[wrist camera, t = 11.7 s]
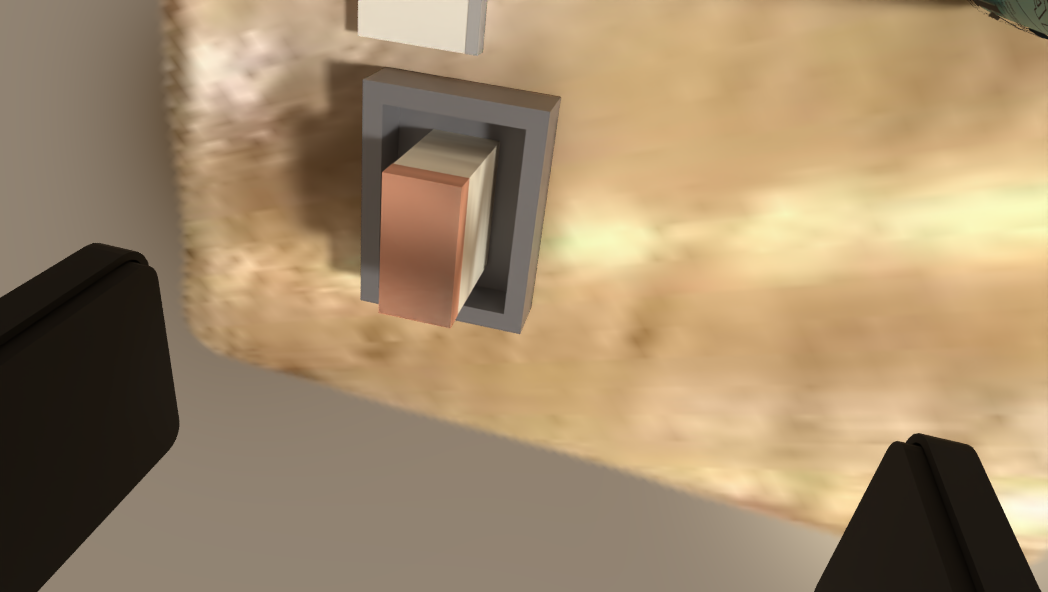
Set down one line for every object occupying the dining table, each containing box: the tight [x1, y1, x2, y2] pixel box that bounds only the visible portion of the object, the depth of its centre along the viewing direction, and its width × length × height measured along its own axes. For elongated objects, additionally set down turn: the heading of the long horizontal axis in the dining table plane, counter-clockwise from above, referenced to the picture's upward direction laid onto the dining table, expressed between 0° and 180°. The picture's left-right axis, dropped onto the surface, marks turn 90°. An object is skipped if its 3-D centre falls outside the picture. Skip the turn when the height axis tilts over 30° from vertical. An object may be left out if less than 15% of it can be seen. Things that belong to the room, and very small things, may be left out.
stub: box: [379, 129, 500, 328], centre depth 36 cm, size 7×4×7 cm, turn 173°
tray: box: [361, 67, 561, 334], centre depth 38 cm, size 12×9×3 cm
